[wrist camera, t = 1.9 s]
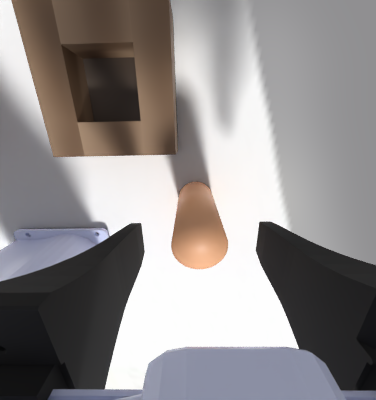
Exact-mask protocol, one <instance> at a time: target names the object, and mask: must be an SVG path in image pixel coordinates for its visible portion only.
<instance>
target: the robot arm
mask: <svg viewBox="0 0 376 400" xmlns="http://www.w3.org/2000/svg"><path fill="white" fill-rule="evenodd" d="M96 232H98V233H99V234H97V233H96ZM14 237H15V239H16V241H14V242H13V243H11V244H9V245H8V246H6V247H5V248H3V249H2V250H0V400H376V265H373V264H369V263H366V262H363V261H360V260H357V259H353V258H350V257H348V256H345V255H342V254H339V253H337V252H334V251H331V250H329V249H326V248H324V247H322V246H319V245H317V244H315V243H313V242H310V241H308V240H306V239H304V238H302V237H300V236H298V235H296V234H294V233H292V232H290V231H288V230H287V229H285V228H283V227H281V226H279V225H277V224H275V223H272V222H260V223H259V231H258V238H257V246H256V252H257V255H258V258H259V261H260V263H261V266H262V268H263V270H264V271H265V273H266V275H267V277H268V279H269V281H270V283H271V285H272V287H273V288H274V290H275V292H276V294H277V296H278V298H279V300H280V302H281V304H282V306H283V309H284V311H285V313H286V316H287V318H288V321H289V323H290V326H291V328H292V331H293V334H294V336H295V339H296V342H297V344H298V347H299V349H295V348H290V347H184V348H178V349H173V350H167V351H166V352H164V353H163V354H161V355H160V356H158V357H157V358H155V359H154V360H153V361H151V362H150V363H149V365H148V368H147V372H146V376H145V380H144V386H143V390H107V389H105V385H106V380H107V376H108V371H109V367H110V363H111V359H112V355H113V351H114V346H115V343H116V339H117V335H118V331H119V327H120V324H121V320H122V317H123V313H124V310H125V306H126V303H127V301H128V298H129V295H130V293H131V290H132V288H133V285H134V283H135V280H136V278H137V275H138V273H139V270H140V267H141V264H142V260H143V256H144V252H145V251H144V243H143V235H142V227H141V223H131V224H129V225H127V226H126V227H124V228H123V229H121V230H119V231H118V232H116V233H115V234H113V235H112V236H110V237H109V235H108V231H107V230H106V229H104V228H72V229H18V230H16V231H15V232H14Z"/></svg>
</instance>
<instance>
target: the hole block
mask: <svg viewBox="0 0 376 400" xmlns="http://www.w3.org/2000/svg"><path fill="white" fill-rule="evenodd" d="M12 4H13V8H14V12H15V15H16V19H17V23H18V26H19V30H20V34H21V37H22V41H23V45H24V49H25V52H26V56H27V60H28V63H29V67H30V71H31V74H32V78H33V82H34V86H35V89H36V93H37V97H38V100H39V104H40V108H41V111H42V115H43V119H44V123H45V126H46V130H47V134H48V137H49V141H50V145H51V149H52V152H53V156H54V157H76V156H124V155H173V154H176V153H177V151H178V135H177V109H176V83H175V58H174V32H173V16H172V10H171V3H170V0H12Z"/></svg>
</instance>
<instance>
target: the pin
mask: <svg viewBox="0 0 376 400" xmlns="http://www.w3.org/2000/svg"><path fill="white" fill-rule="evenodd" d="M171 247H172V252H173V255H174V256H175V258H176V259H177V260H178V261H179V262H180V263H181V264H183V265H184V266H186V267H189V268H193V269H206V268H210V267H212V266H214V265H216V264H218V263H219V262H220V261H221V260H222V259H223V258H224V256H225V255H226V253H227V249H228V240H227V237H226V234H225V231H224V228H223V225H222V222H221V219H220V216H219V213H218V211H217V208H216V205H215V202H214V199H213V196H212V193H211V190H210V189H209V187H208V186H206V185H205V184H203V183H201V182H191V183H188V184H186V185H185V186H184V187H183V188H182V189H181V191H180V193H179V199H178V205H177V212H176V218H175V224H174V231H173V237H172V243H171Z"/></svg>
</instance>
